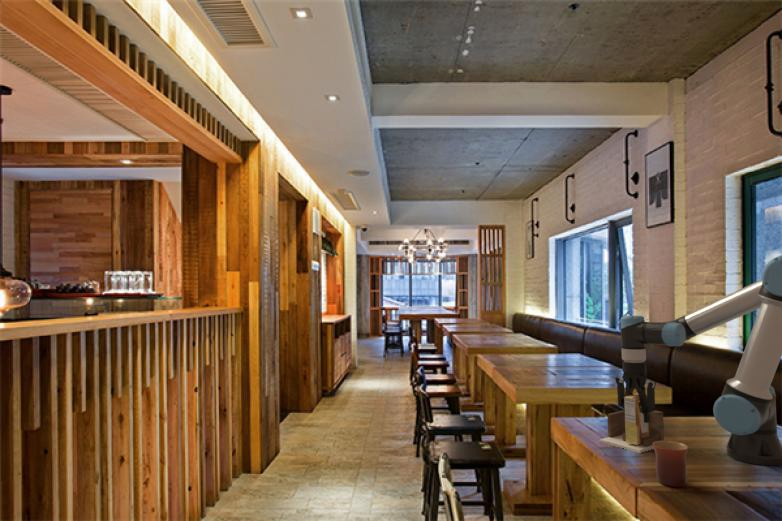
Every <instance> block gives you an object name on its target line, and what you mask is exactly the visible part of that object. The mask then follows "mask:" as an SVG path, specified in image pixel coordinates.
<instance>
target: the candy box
mask: <svg viewBox="0 0 782 521" xmlns="http://www.w3.org/2000/svg"><path fill="white" fill-rule="evenodd" d="M646 397H647V394H646ZM624 405H625V429H626V443H631V444H635V445H638V444H640V443H643V438H647V437H649V424H648V432H645V433H641V414H640V413H641V412H643V411H642V407H641V403H640V398H639V395H638V392H636V393H633V395H629V396H626V397H624Z"/></svg>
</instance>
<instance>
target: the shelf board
mask: <svg viewBox="0 0 782 521" xmlns="http://www.w3.org/2000/svg"><path fill="white" fill-rule="evenodd" d="M599 443H601V444H605V445H607V446H608V445H609V446H610V447H611V446H612V447H614V446H615V448H618V447H620V448H619V449H622V448H624V449H623V450H625V449H627V450H626V451H629V450H630V451H629V452H633V453H637V454H642V452H643V453H646V452H649V451H652V450H654V447H653V445H651V446H648V447H644V446H643V443H640V444H638V445H635V444H631V443H626V442H625V441H623V435H619V436H615V437H612V438H610V437H608V436H607V437H604V438H601V439H599ZM651 449H652V450H651ZM648 450H649V451H648ZM645 451H646V452H645Z"/></svg>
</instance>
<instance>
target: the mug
mask: <svg viewBox="0 0 782 521" xmlns="http://www.w3.org/2000/svg"><path fill="white" fill-rule="evenodd" d="M652 444H653V447H654V449H653V451H654V453H655V473H656V478H657V481H658V482H659V483H660V484H662V485H664V486H667V487H670V488H671V487H672V488H679V487H680V488H681V487H684V486H685V485H687V480H688V479H687V478H688V475H687V474H688V473H687V461H686V460H687V454H688V451H689V446H688V445H686V444H684V443H681V442H678V441H673V440H672V441H671V440H664V441H655V442H653V443H652Z"/></svg>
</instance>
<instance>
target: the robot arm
mask: <svg viewBox="0 0 782 521" xmlns="http://www.w3.org/2000/svg"><path fill="white" fill-rule="evenodd" d="M756 310H758V312H757V315H756V318H755V321H754V323H753V326H752V329H751V332H750V334H749V337H748V340H747V343H746V345H745V348H744V351H743V354H742V356H741V359H740V362H739V365H738V368H737V370H736V373H735V376H734V377H732V378H729V379H727V380H726V382H725V384H724V388H723V390H722V391H721V392H722V393H721V396H719V397H718V398H717V399H716V400H715V402H714V404H713V408H712V411H713V415H714V416H713V417H714V419H715V420H716V422H717V424H719V426H720V427H721V428H722V429H724V430H726V431H727V432H729V433H730V436H729V438H728V441H727V444H726V455H727V456H728V457H730V458H732V459H734V460H736V461H741V462H744V463H747V464H753V465H760V466H780V465H782V443H781V441H780V438H779V435H778V424H777V423H778V422H777V402H776V398H777V394H776V391H775V390H776V389H775V388H774V387H773V386H772V385H771V384H772V382H773V379H774V376H775V374H776V371H777V369H778V366H779V364H780V361H781V358H782V254H781V255H778V256H776V257H774V258H773V259H770V260H769V261H768V262H767V263H766V264H765V266H764V267H763V270H762V273H761V279H759V280H757V281H755V282H753V283H751V284H749V285H746V286H744V287H742V288H740V289H738V290H736V291H734V292H731V293H730V294H727V295H725V296H723V297H721V298H719V299H717V300H715V301H712V302H710V303H708V304H706V305H704V306H702V307H700V308H698V309H696V310H693V311H691V312H688V313H687V314H685V315H682V316H681V317H680V316H679V318H676V319H673V320H669V321H664V322H663V321H662V322H661V321H658V322H657V321H656V322H655V321H651V322H650V321H646V320H645V317H644V316H643V315H623V316H621V317H620V328H619V330H620V340H621V344H620V345H621V360H622V363H621V365H622V372H623V374H622V375H621V376H618V377H615V379H614V380H615V384H616V388H617V392H616V393H617V405H618V407H621V409H623V410H624V417H625V405H624V397H626V396H629V395H633V394H634V390H635V391H636V393H637V394H638V395H639V398H640V403H641V407H642V411H643V412H641V413H640V414H641V433H645V432H648V423H649V422H650V415H649V413H650V412H653V411H656V399H655V398H656V396H655V388H656V386H657V382H656V381H651V380H649V378H648V376H647V374H648V373H647V372H648V370H647V362H646V360H647V352H646V351H647V350H646V345H655V346H665V347H666V346H668V347H681V346H684V343H685V342H687V341H689V340H690V339H691V338H694V337H696V336H699V335H701V334H703V333H705V332H707V331H711V330H712V329H713V330H714V329H715V328H718V327H719V326H722V325H724V324H727V323H728V322H731V321H733V320H735V319H738V318H741V317H742V316H745V315H747V314H749V313H752V312H754V311H756ZM646 395H647V397H646Z"/></svg>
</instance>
